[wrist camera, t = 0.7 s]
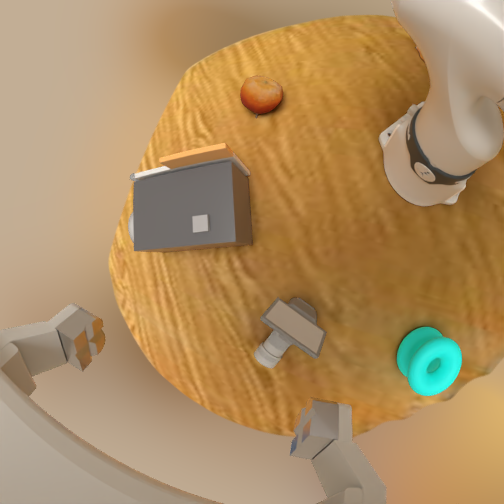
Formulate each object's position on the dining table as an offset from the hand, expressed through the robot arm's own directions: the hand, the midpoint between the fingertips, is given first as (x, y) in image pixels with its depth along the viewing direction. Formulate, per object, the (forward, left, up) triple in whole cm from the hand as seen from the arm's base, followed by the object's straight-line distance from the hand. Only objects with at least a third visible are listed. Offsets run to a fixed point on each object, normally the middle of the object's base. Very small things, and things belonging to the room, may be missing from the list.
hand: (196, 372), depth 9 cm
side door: (-3, -25, -38) cm, 46 cm away
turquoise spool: (-6, +27, -39) cm, 48 cm away
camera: (+7, +5, -39) cm, 40 cm away
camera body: (+3, -21, -39) cm, 44 cm away
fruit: (-23, -26, -39) cm, 52 cm away
